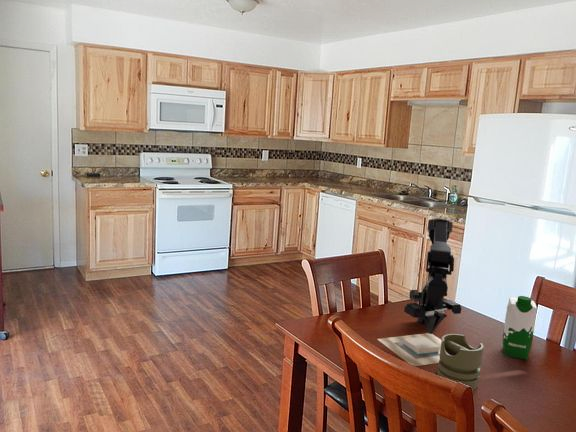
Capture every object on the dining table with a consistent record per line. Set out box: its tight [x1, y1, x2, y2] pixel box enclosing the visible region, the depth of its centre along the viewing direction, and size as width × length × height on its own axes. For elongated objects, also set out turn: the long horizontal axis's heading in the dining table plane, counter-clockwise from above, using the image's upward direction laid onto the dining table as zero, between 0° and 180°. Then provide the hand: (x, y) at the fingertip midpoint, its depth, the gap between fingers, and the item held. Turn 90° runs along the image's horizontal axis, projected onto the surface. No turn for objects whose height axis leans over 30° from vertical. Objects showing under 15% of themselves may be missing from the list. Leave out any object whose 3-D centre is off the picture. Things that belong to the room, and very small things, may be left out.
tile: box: [403, 337, 439, 355], centre depth 163 cm, size 2×8×8 cm
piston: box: [436, 333, 484, 391], centre depth 145 cm, size 11×12×11 cm
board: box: [376, 332, 442, 367], centre depth 164 cm, size 22×20×1 cm
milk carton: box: [502, 295, 538, 361], centre depth 166 cm, size 9×9×20 cm
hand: (430, 333), depth 164 cm, fingers closed
